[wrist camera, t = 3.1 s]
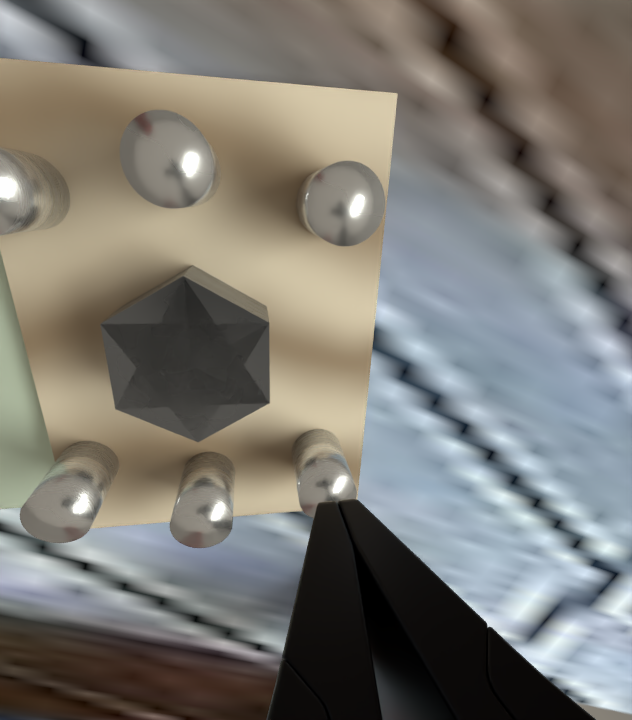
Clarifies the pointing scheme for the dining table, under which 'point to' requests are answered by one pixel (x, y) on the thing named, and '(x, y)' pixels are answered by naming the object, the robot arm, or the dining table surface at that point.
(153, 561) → the dining table surface
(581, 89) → the dining table surface
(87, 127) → the board
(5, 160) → the steel spacers
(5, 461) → the mat
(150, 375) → the dark grey hexagonal block
